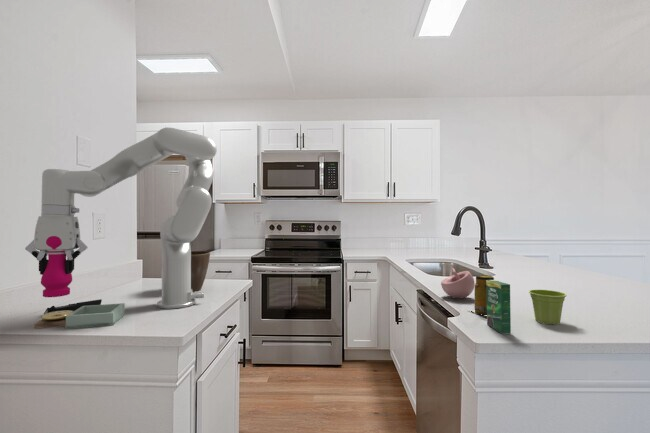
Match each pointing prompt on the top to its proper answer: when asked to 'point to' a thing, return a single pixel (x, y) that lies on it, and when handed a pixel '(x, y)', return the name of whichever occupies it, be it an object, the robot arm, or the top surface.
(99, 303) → the electric trimmer
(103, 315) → the trough tray
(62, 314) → the gold disc
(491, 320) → the coffee box
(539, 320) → the plant pot
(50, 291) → the pepper mill
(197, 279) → the plant pot
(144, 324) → the top surface
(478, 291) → the condiment
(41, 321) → the checker plinth
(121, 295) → the top surface
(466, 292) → the mortar and pestle
